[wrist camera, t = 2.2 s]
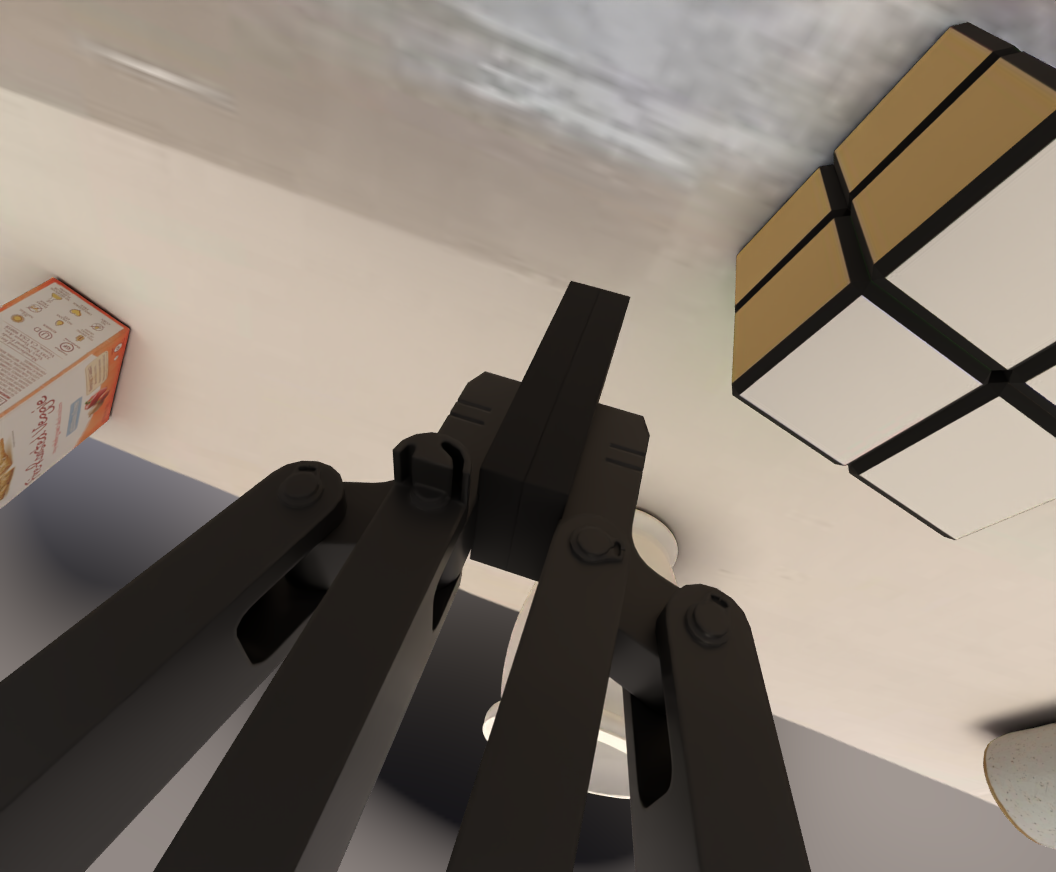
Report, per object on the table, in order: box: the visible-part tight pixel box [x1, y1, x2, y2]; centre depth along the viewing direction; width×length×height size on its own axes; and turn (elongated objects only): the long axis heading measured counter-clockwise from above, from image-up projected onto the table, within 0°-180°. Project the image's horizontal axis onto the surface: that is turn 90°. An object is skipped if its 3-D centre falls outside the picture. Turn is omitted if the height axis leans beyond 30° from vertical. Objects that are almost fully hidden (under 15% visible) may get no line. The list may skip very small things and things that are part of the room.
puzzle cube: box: [732, 22, 1056, 540], centre depth 18 cm, size 10×10×10 cm
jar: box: [483, 509, 678, 799], centre depth 35 cm, size 11×10×15 cm
